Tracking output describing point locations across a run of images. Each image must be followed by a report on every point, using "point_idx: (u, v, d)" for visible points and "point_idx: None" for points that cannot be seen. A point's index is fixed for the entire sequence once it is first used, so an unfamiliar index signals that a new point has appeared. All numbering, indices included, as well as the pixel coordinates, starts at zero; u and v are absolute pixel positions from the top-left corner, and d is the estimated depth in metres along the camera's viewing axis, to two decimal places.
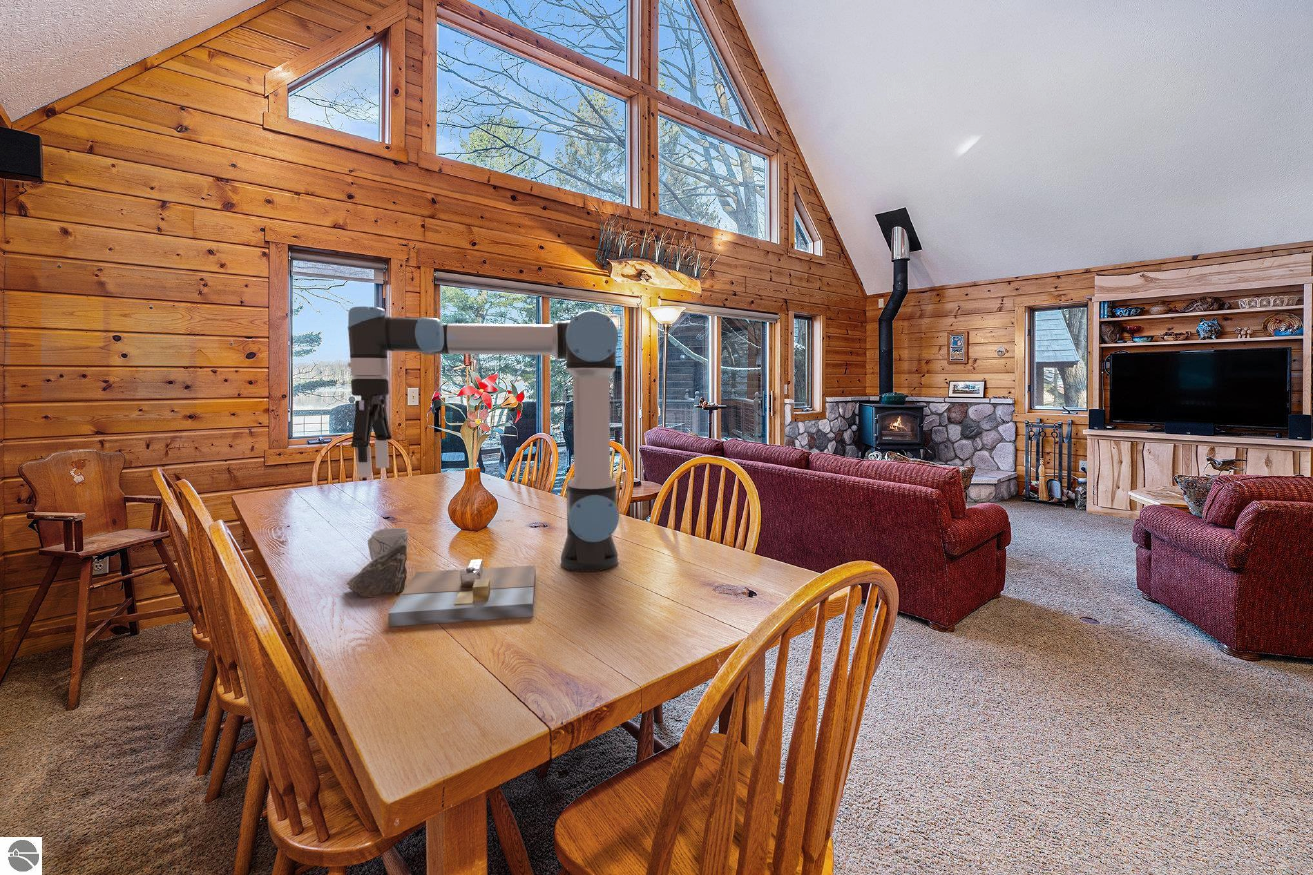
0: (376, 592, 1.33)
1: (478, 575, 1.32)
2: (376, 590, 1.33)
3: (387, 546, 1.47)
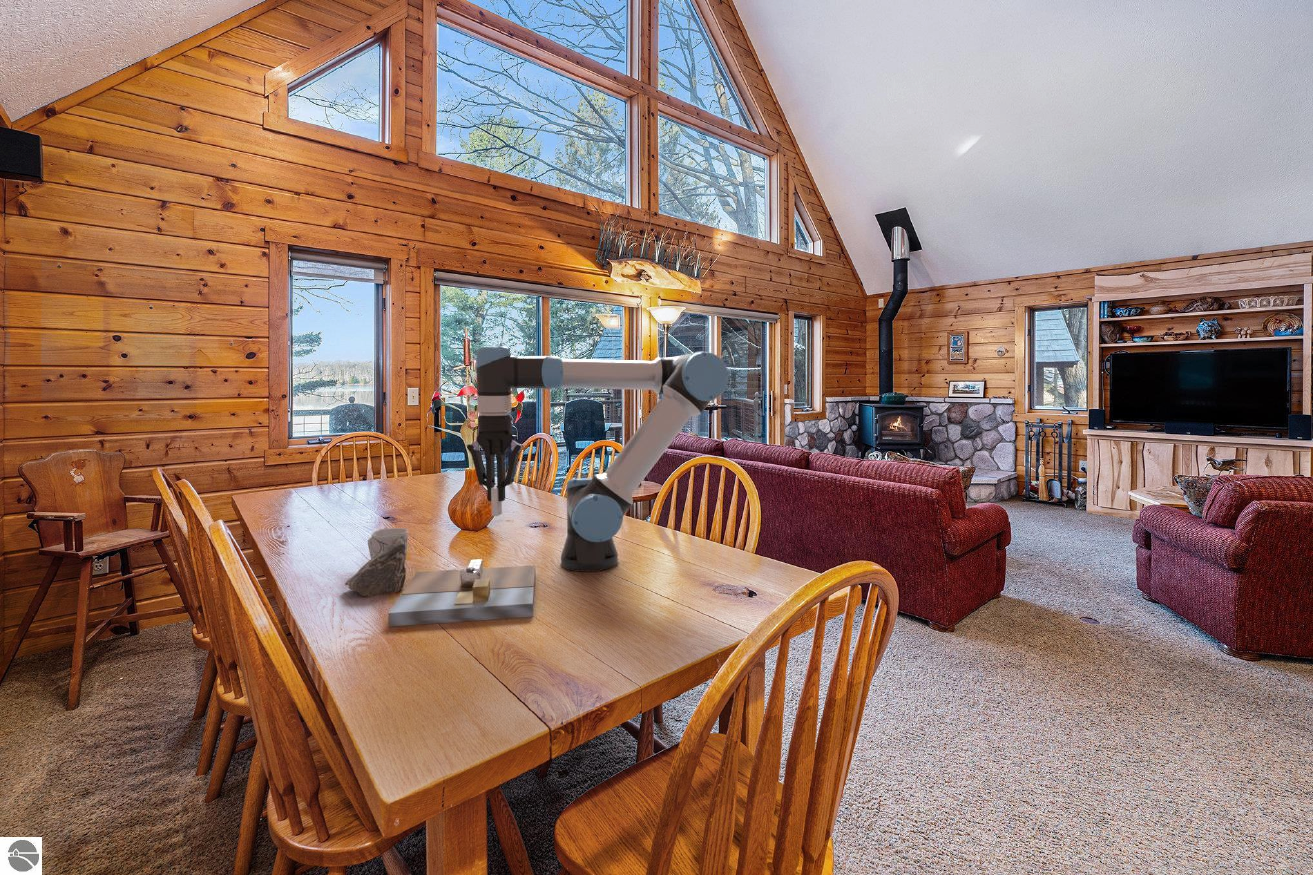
0: (376, 591, 1.34)
1: (478, 575, 1.32)
2: (376, 589, 1.34)
3: (387, 546, 1.47)
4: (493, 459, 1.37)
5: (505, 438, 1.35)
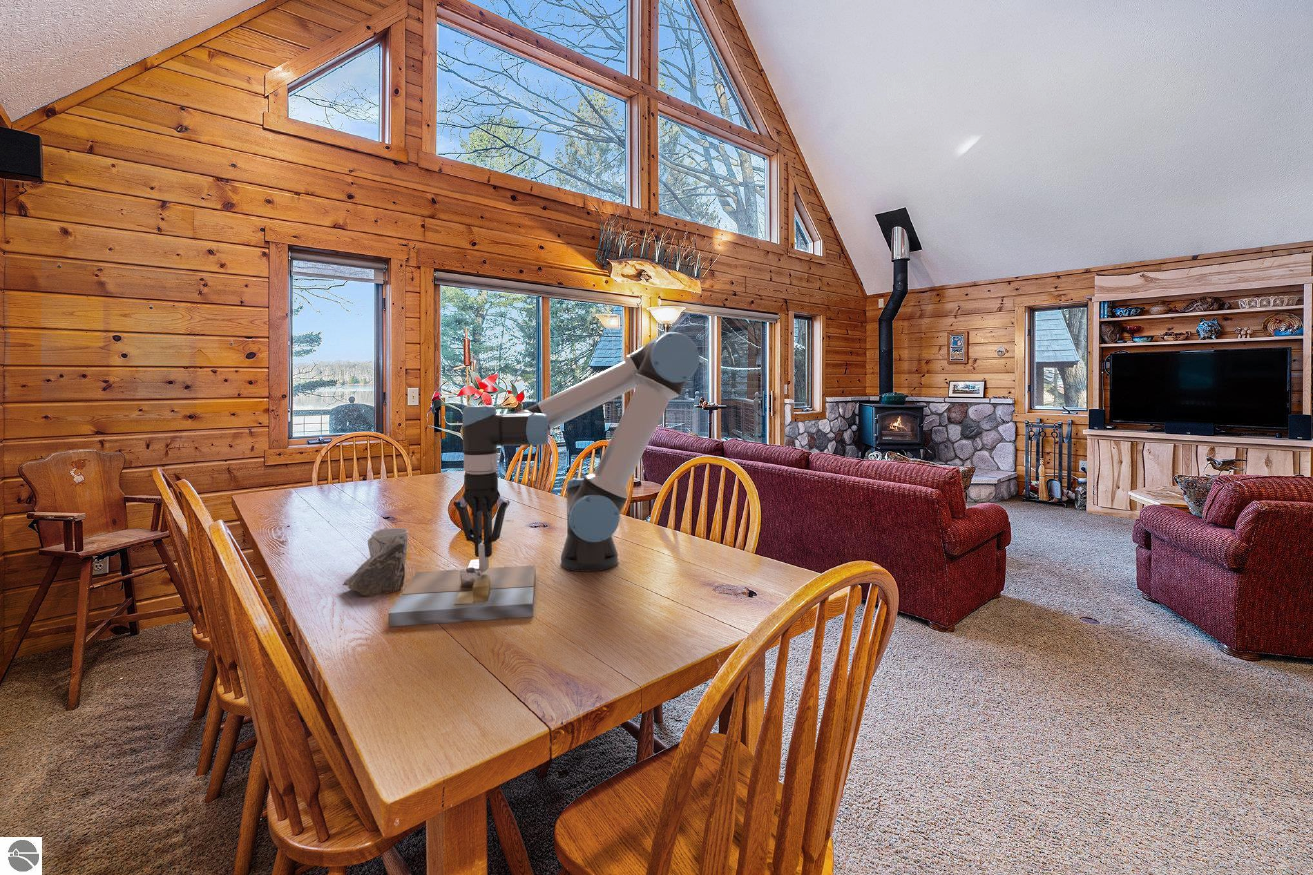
0: (376, 591, 1.34)
1: (478, 575, 1.32)
2: (376, 589, 1.34)
3: None
4: (480, 515, 1.39)
5: (491, 495, 1.37)
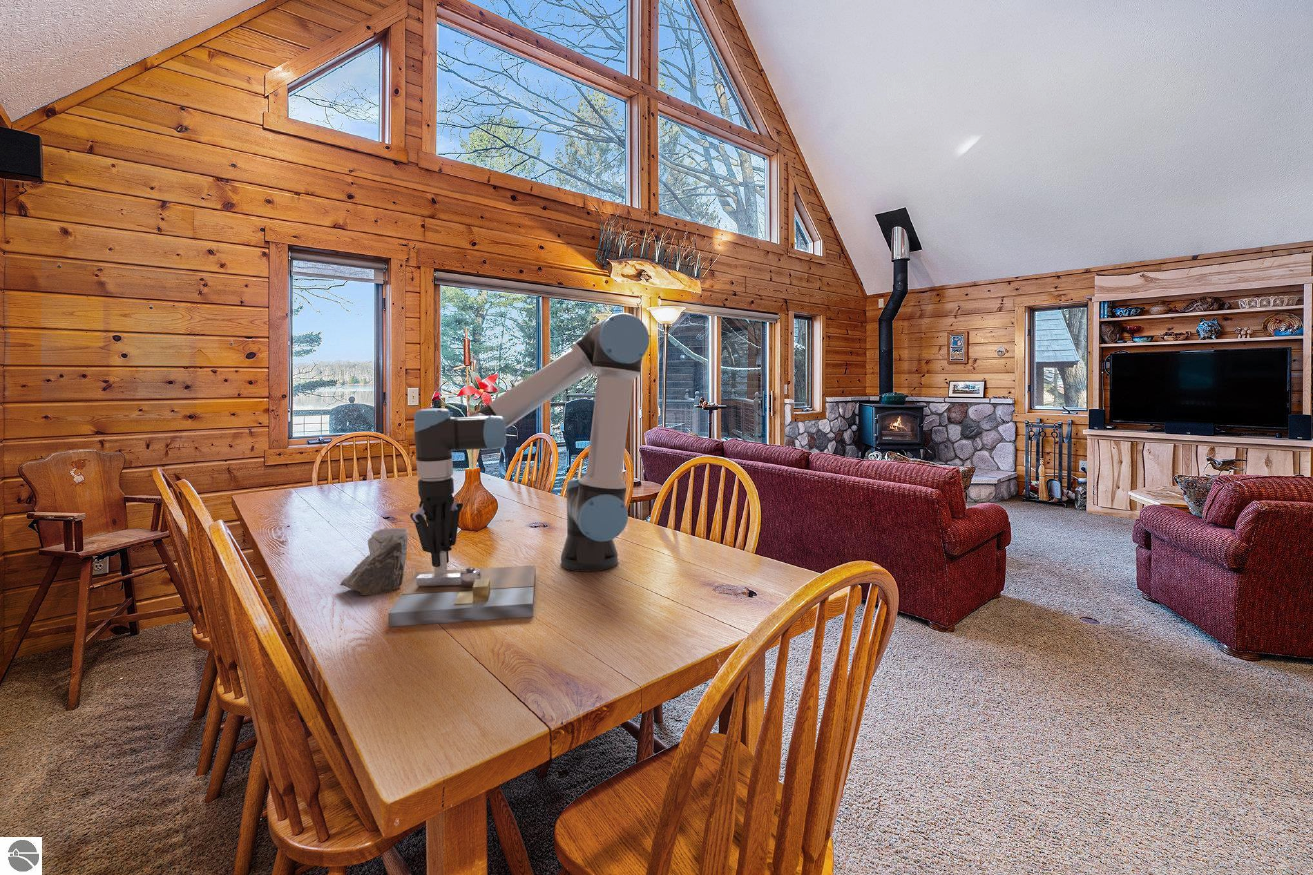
0: (376, 590, 1.35)
1: None
2: (376, 588, 1.35)
3: None
4: None
5: (450, 499, 1.35)
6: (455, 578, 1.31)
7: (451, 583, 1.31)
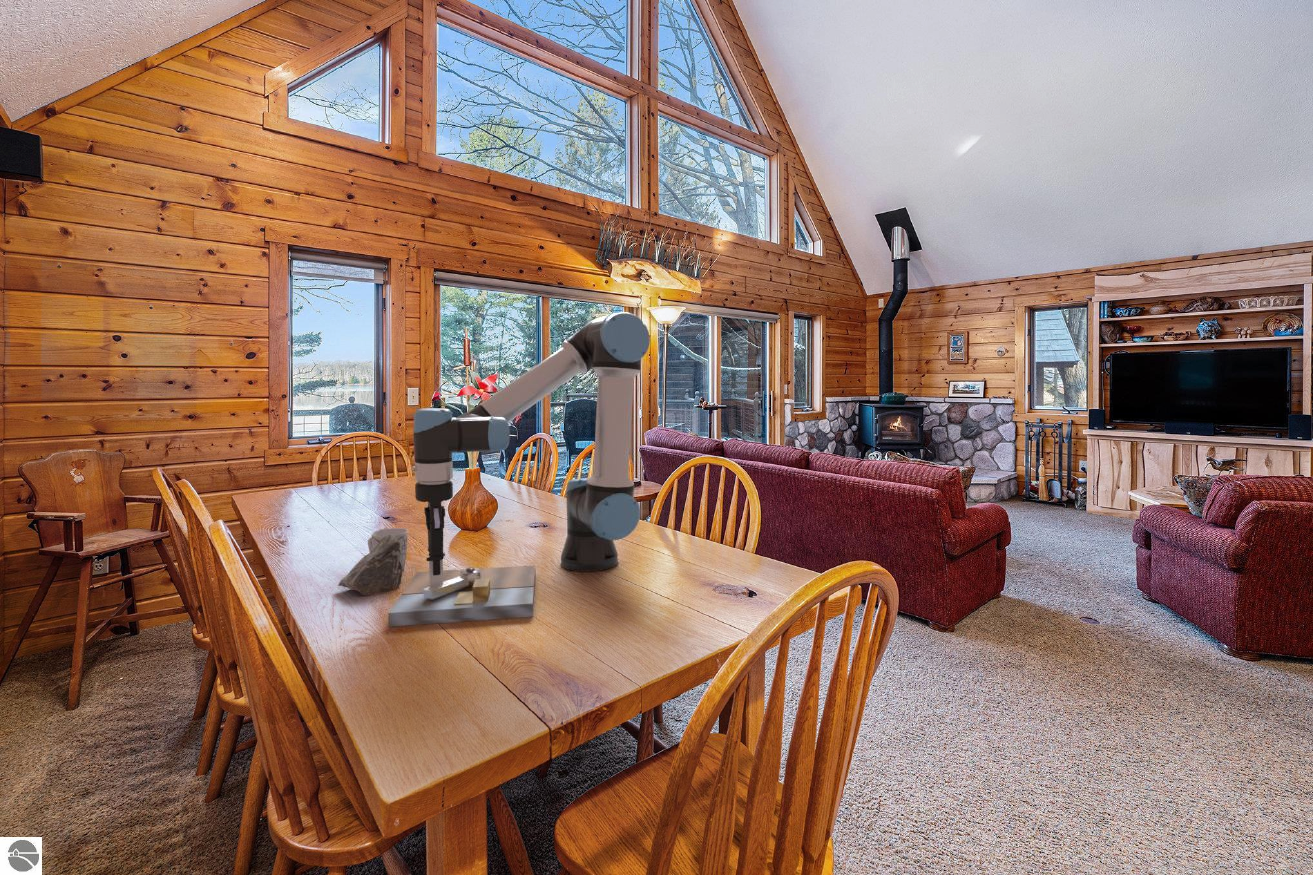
0: (376, 589, 1.35)
1: None
2: (376, 587, 1.35)
3: None
4: None
5: None
6: (464, 581, 1.30)
7: (460, 587, 1.29)
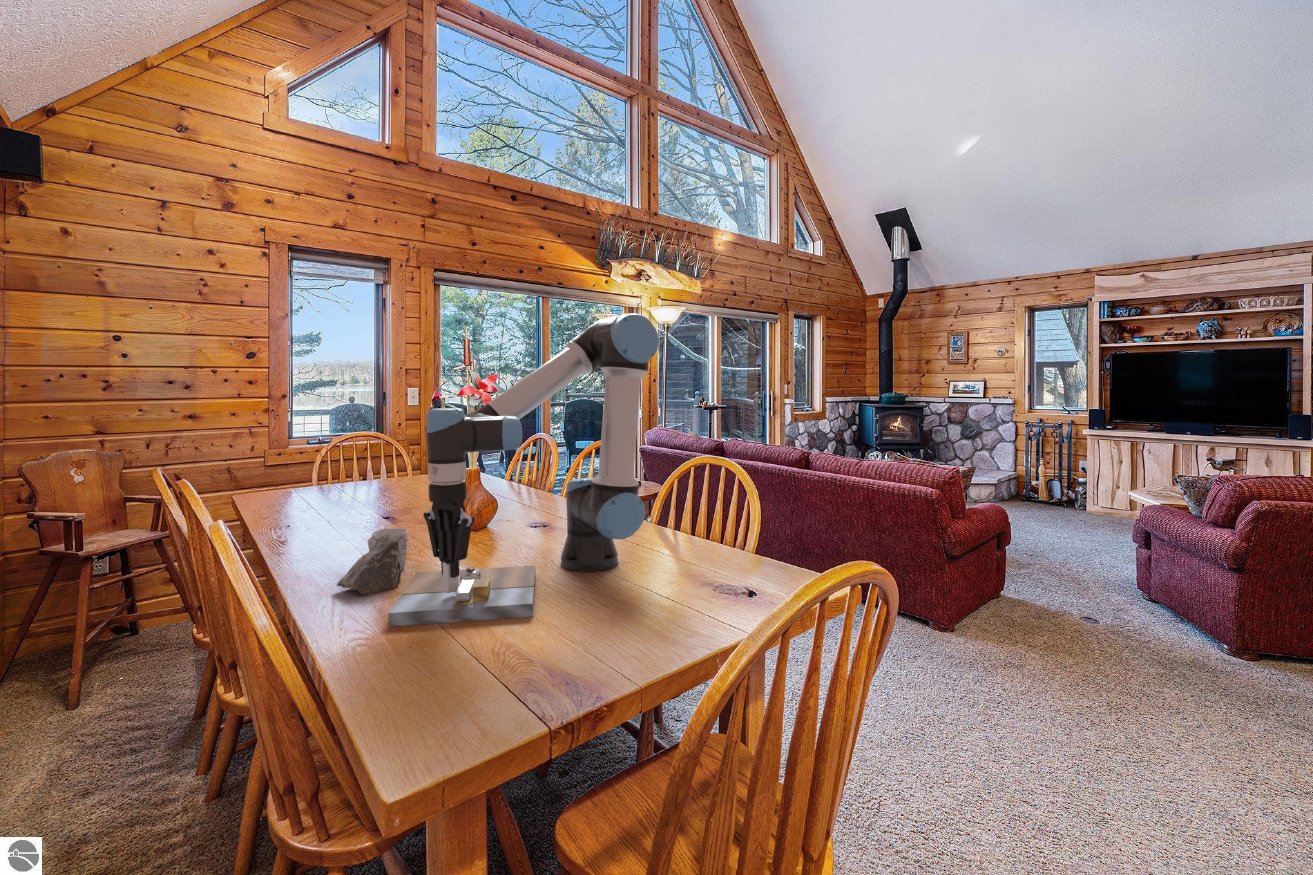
0: (375, 589, 1.35)
1: None
2: (375, 587, 1.36)
3: None
4: None
5: None
6: (474, 580, 1.30)
7: None
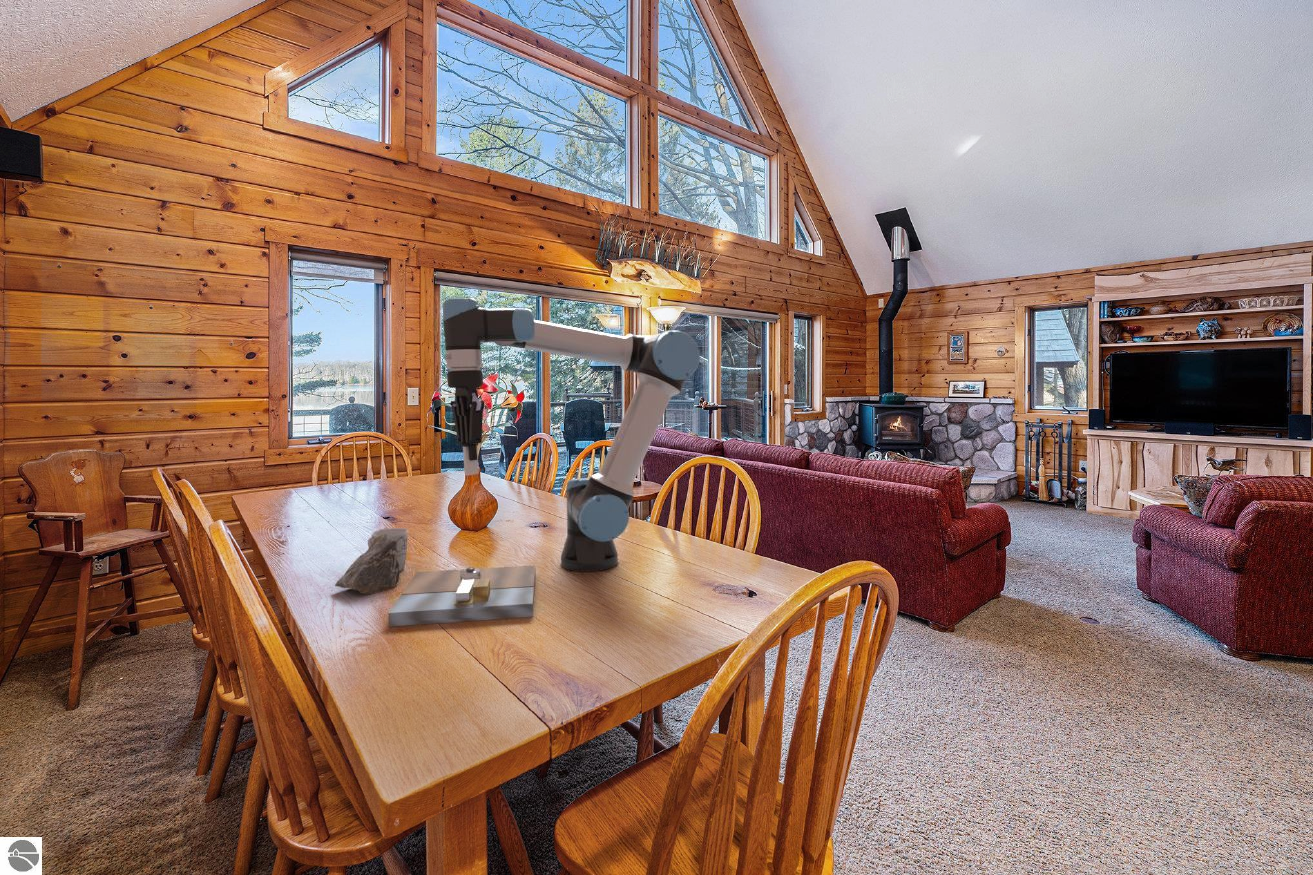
0: (375, 588, 1.36)
1: None
2: (375, 586, 1.36)
3: None
4: None
5: None
6: (474, 580, 1.30)
7: None
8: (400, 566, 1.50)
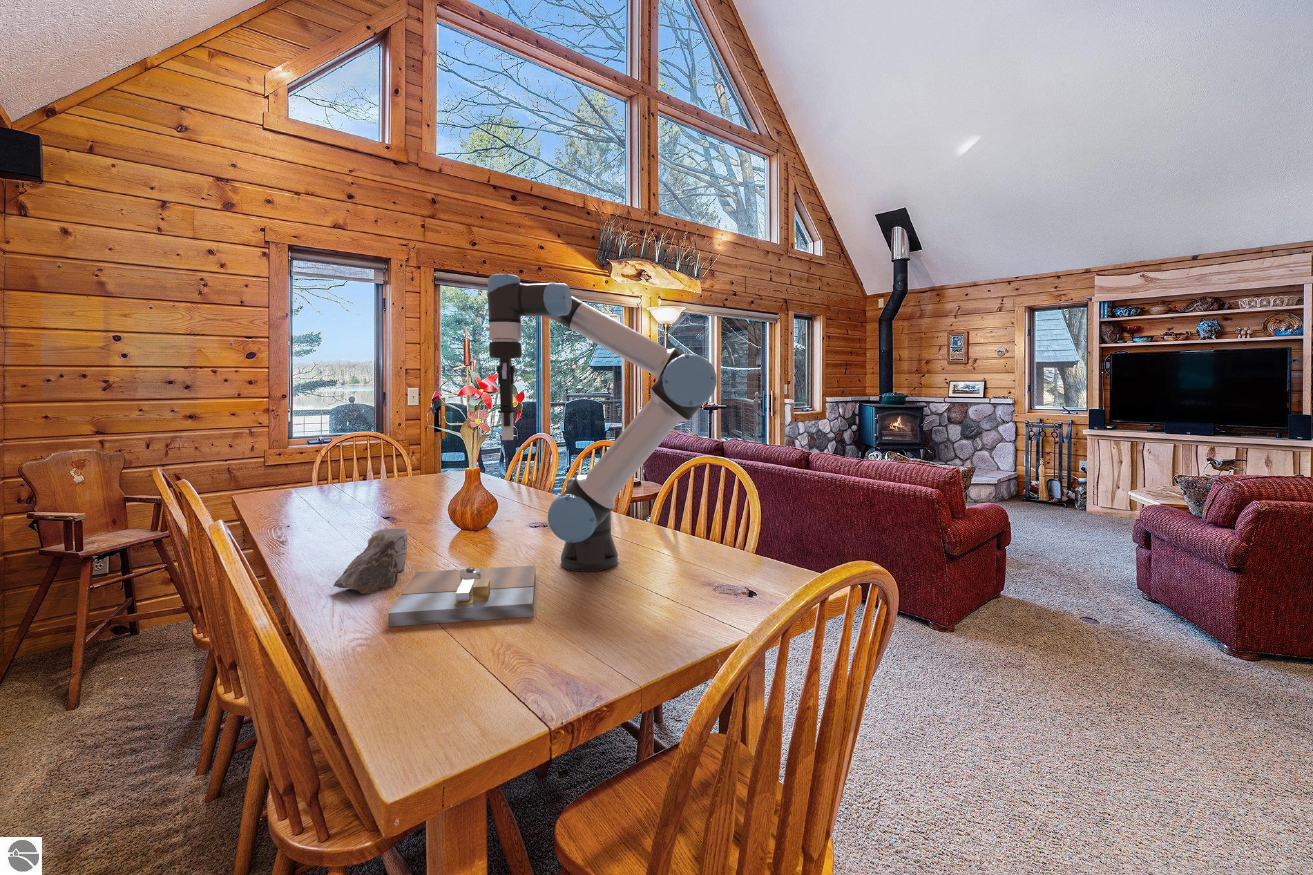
0: (374, 588, 1.36)
1: None
2: (374, 586, 1.36)
3: None
4: None
5: None
6: (474, 580, 1.30)
7: None
8: (400, 566, 1.50)
